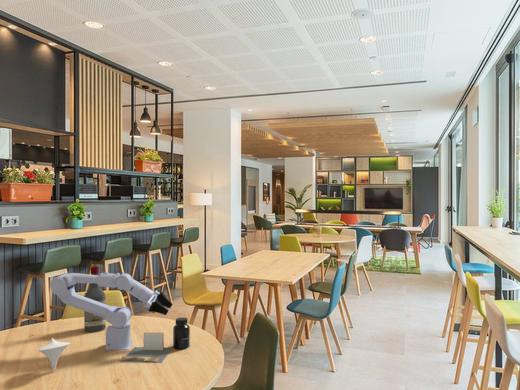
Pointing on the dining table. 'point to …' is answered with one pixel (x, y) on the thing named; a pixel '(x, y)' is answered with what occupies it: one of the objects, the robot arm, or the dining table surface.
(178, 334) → the supplement bottle
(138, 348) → the mat
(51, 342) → the white spinning top
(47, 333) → the dining table surface
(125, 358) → the turner
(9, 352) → the dining table surface
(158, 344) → the tile
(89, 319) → the liquor
